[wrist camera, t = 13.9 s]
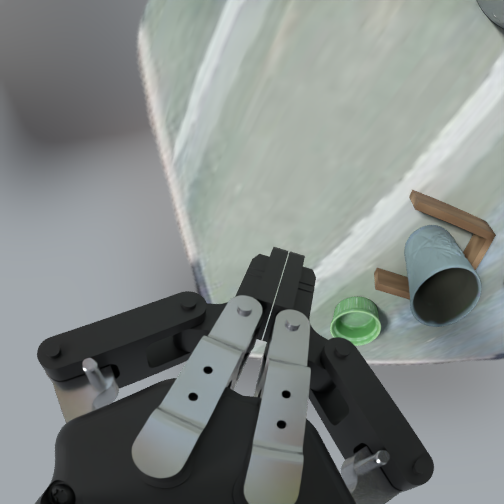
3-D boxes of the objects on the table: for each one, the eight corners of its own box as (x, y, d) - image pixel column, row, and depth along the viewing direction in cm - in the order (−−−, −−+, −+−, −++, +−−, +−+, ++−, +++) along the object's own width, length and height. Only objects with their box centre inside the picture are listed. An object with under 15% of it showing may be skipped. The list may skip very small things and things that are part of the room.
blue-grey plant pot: (396, 273, 46) (405, 328, 36) (401, 218, 40) (417, 267, 31) (452, 273, 42) (470, 325, 33) (462, 218, 37) (490, 266, 28)
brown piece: (412, 189, 38) (418, 201, 34) (486, 221, 36) (495, 235, 33) (374, 273, 47) (375, 289, 44) (443, 294, 45) (447, 310, 42)
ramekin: (374, 288, 49) (375, 306, 45) (383, 323, 52) (384, 341, 49) (325, 299, 53) (323, 316, 49) (339, 332, 56) (337, 349, 53)
